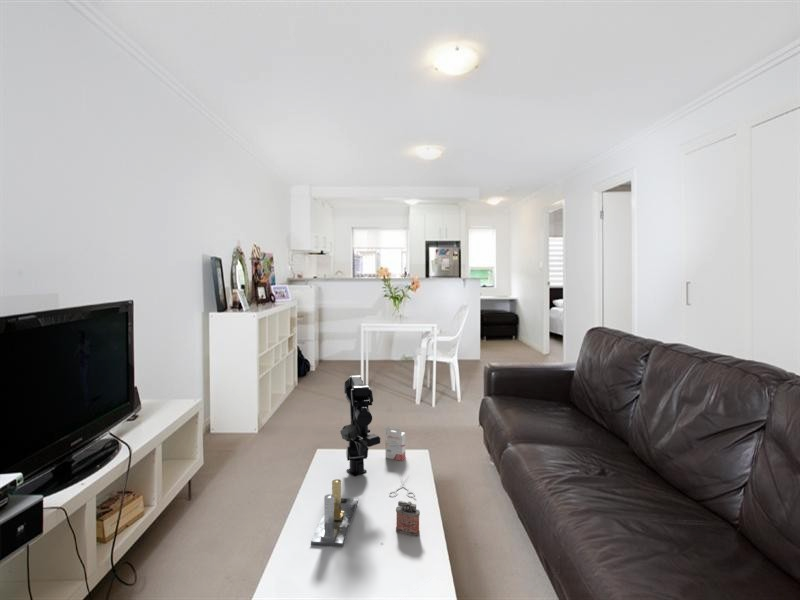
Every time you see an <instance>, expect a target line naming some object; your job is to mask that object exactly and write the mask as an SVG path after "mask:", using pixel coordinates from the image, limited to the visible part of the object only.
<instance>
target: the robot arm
mask: <svg viewBox="0 0 800 600" xmlns="http://www.w3.org/2000/svg"><path fill="white" fill-rule="evenodd" d="M343 391H344V392H343V393H344V394H345V398H346V400H347V402H348V403H349V413H350V414H349V415H350V424H346V425H344V426H343V427H342V429H341V430H340V435H341V439H342V440H345V441H346V442H347V446H346V452H345V454H346V460H347V462H349V468H348V469H346V472H347V473H349V474H351V476H353V477H357V476H359V475H362V474H364V473H367V470H366V468H365V464H364V462H365V461H364V460H367V459H368V455H369V448H370V447H373V446H376V445H379V444H381V437H380V436H379V435H377V434H375V433H371V429H369V425H370V424H371V423H372V421H373V415H372V413H371V411H370V409H369V406H373V402H374V396H373V391H372V388H370V386H369V385H368V384H364V381H363V380H362V376H361V375H360V374H353V375H349V378H348V379H346V380H345V381H344V386H343ZM369 433H370V434H369Z"/></svg>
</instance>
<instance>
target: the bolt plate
mask: <svg viewBox="0 0 800 600" xmlns="http://www.w3.org/2000/svg"><path fill="white" fill-rule="evenodd" d="M323 499H324V500H323V501H324V503H323V507H324V509H323V511H324V512H323V515H322V516H321V520H320V521H319V523H318V525H317V527H316V530H315V532H314V534H313V536H312V538H311V540H310V545H311V546H318V547H319V546H320V547H321V546H322V547H323V546H324V547H333V548H336V547H337V548H343V547H344V544H345V541H346V537H347V534H348V532H349V528H350V526H351V523H352V519H353V517H354V514H355V511H356V508H357V505H358V502H359V499H358V498H351V497H341V511H344V515H343V518H342V520H334V495H332V493H330V494H325V495H324V498H323Z"/></svg>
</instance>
